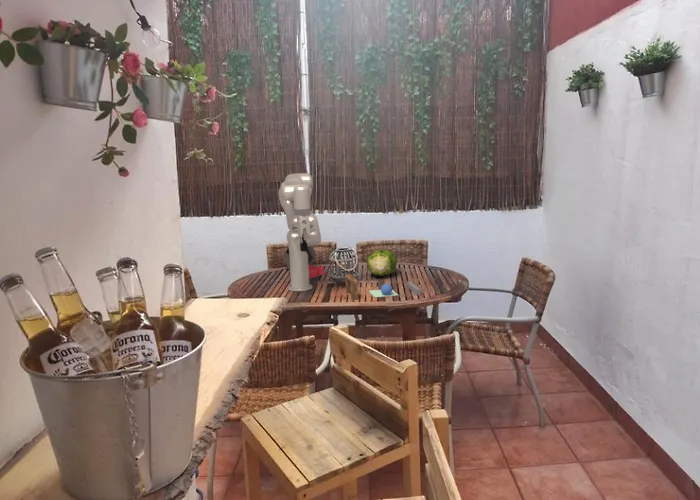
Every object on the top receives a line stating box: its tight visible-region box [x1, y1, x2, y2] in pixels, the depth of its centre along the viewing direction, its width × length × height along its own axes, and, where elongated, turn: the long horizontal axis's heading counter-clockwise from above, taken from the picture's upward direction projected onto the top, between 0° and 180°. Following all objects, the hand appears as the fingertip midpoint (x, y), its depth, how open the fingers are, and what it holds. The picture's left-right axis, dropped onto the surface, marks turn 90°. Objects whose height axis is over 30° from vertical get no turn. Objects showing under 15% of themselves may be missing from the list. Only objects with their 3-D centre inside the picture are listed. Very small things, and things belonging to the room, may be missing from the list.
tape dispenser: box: [308, 264, 325, 279], centre depth 304 cm, size 14×10×5 cm
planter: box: [282, 246, 318, 272], centre depth 319 cm, size 17×8×21 cm
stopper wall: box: [406, 281, 422, 296], centre depth 266 cm, size 16×2×2 cm, turn 11°
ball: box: [380, 283, 393, 295], centre depth 259 cm, size 6×6×6 cm
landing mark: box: [368, 289, 399, 298], centre depth 263 cm, size 12×12×1 cm
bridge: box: [344, 273, 359, 301], centre depth 259 cm, size 3×15×9 cm, turn 11°
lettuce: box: [366, 248, 398, 277], centre depth 295 cm, size 16×21×15 cm
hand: (304, 250), depth 250 cm, fingers closed
